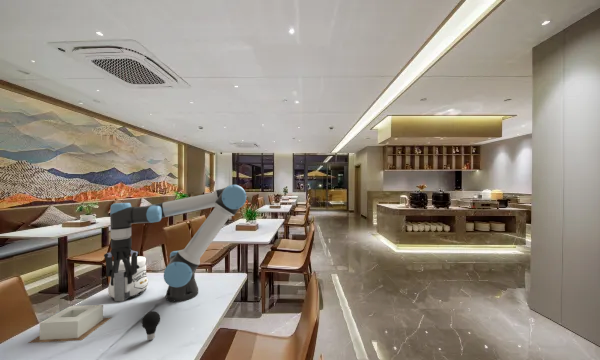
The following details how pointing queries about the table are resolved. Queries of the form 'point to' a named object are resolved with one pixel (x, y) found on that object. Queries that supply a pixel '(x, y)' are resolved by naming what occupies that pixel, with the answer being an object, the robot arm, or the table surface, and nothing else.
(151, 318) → the light bulb
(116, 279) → the brushed grey pillar
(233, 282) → the table surface
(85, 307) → the well
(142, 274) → the milk container
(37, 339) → the board
